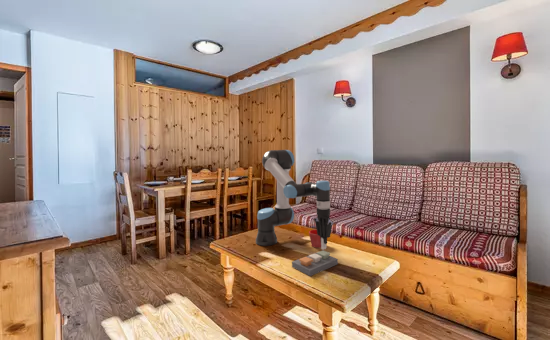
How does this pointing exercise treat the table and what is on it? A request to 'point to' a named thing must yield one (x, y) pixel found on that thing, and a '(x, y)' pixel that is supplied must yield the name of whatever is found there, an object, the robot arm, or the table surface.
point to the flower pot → (315, 239)
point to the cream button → (315, 257)
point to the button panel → (315, 265)
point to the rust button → (306, 261)
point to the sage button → (324, 254)
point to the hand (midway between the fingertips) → (323, 248)
